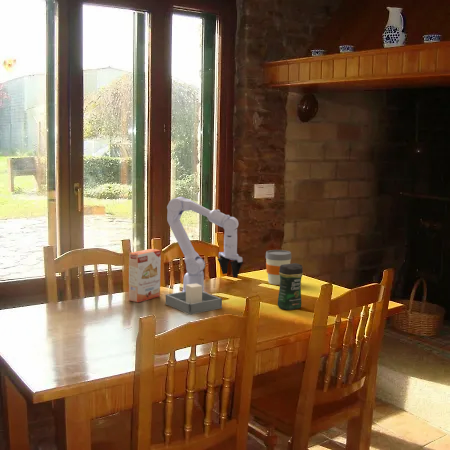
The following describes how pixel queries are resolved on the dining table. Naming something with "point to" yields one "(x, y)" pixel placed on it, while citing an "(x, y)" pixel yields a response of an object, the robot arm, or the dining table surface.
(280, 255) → the reusable coffee cup
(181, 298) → the tray
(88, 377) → the dining table surface
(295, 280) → the coffee jar
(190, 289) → the carton
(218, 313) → the dining table surface
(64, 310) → the dining table surface
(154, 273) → the cracker box
